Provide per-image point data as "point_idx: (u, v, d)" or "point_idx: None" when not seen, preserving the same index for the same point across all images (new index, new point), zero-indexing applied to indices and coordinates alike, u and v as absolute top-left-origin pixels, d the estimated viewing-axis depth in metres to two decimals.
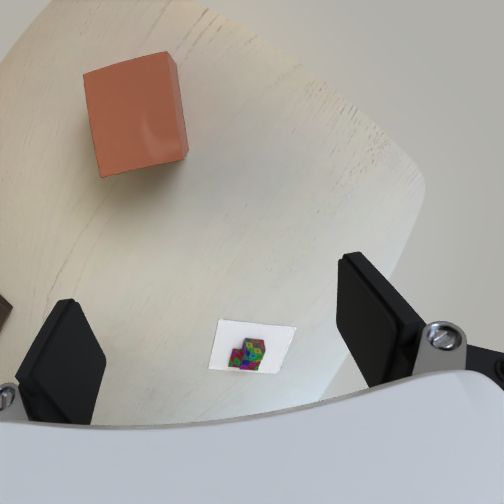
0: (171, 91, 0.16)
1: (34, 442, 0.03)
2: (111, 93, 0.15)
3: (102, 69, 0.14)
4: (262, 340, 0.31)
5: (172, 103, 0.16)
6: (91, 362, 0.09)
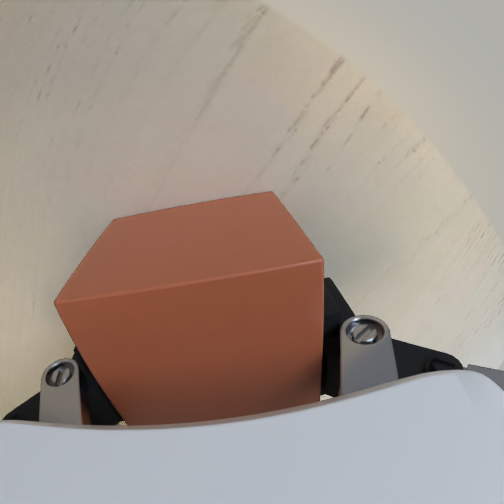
0: (320, 360, 0.07)
1: (34, 442, 0.03)
2: (153, 361, 0.06)
3: (109, 299, 0.05)
4: None
5: (316, 380, 0.07)
6: None
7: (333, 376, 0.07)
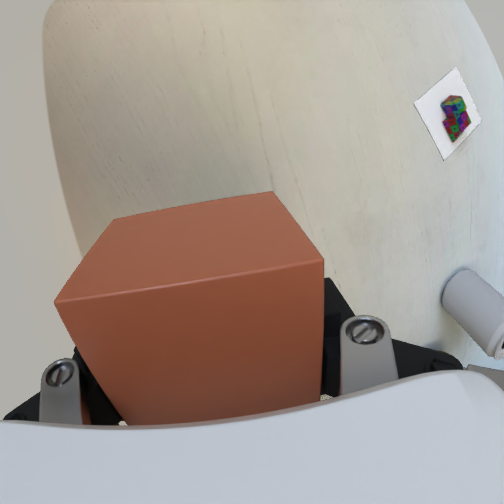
0: (320, 360, 0.07)
1: (34, 442, 0.03)
2: (153, 361, 0.06)
3: (109, 298, 0.05)
4: (450, 95, 0.23)
5: (316, 380, 0.07)
6: None
7: (333, 376, 0.07)
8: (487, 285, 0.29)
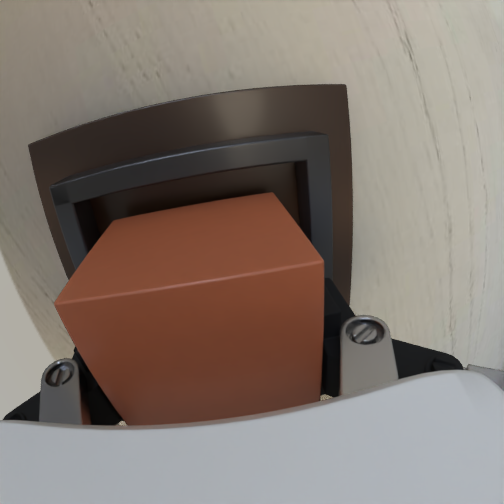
0: (320, 361, 0.07)
1: (34, 442, 0.03)
2: (153, 362, 0.06)
3: (109, 301, 0.05)
4: None
5: (316, 381, 0.07)
6: None
7: (333, 376, 0.07)
8: None
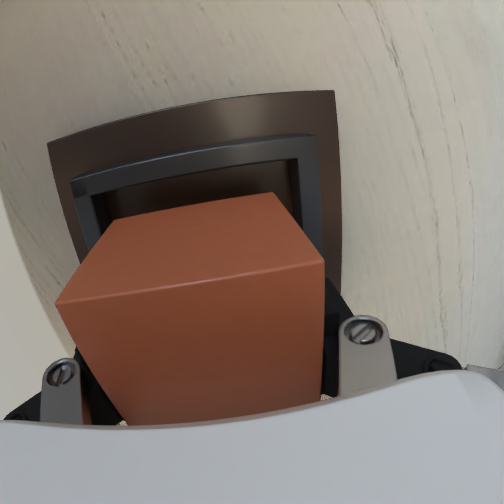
0: (320, 360, 0.07)
1: (34, 442, 0.03)
2: (154, 362, 0.06)
3: (110, 299, 0.05)
4: None
5: (317, 381, 0.07)
6: None
7: (331, 376, 0.07)
8: None
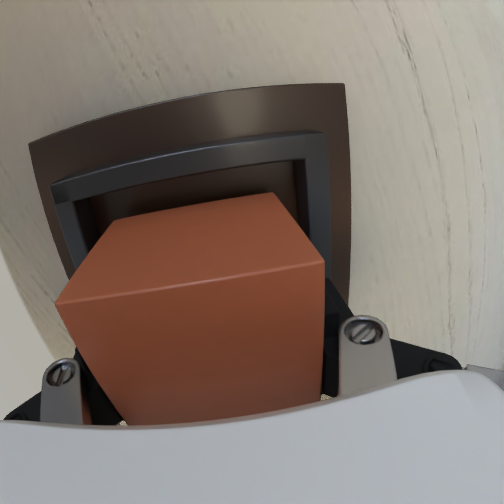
0: (320, 361, 0.07)
1: (34, 442, 0.03)
2: (154, 362, 0.06)
3: (110, 300, 0.05)
4: None
5: (317, 381, 0.07)
6: None
7: (331, 376, 0.07)
8: None
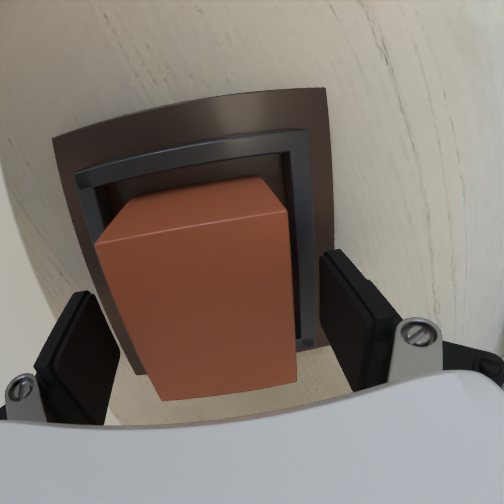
0: (291, 293, 0.09)
1: (34, 442, 0.03)
2: (165, 291, 0.09)
3: (137, 239, 0.08)
4: None
5: (290, 313, 0.10)
6: (106, 353, 0.10)
7: (384, 380, 0.07)
8: None
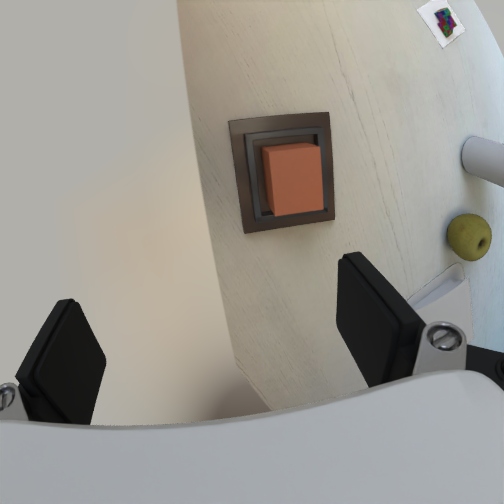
0: (321, 171, 0.31)
1: (34, 442, 0.03)
2: (287, 167, 0.31)
3: (281, 151, 0.30)
4: (440, 9, 0.28)
5: (321, 178, 0.32)
6: (91, 362, 0.09)
7: None
8: (494, 141, 0.33)
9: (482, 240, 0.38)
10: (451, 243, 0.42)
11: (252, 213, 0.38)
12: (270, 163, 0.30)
